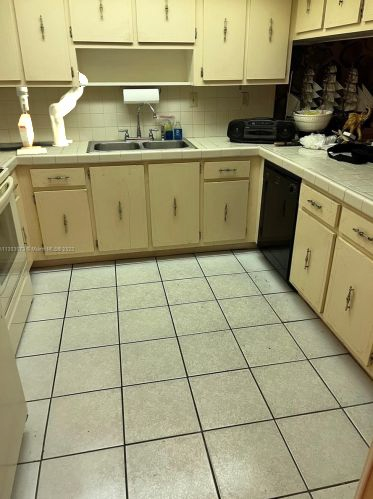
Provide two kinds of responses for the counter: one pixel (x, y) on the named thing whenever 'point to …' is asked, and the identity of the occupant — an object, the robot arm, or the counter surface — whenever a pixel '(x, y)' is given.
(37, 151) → the mat
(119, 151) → the counter surface
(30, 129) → the cracker box
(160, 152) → the counter surface
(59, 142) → the robot arm
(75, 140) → the counter surface
